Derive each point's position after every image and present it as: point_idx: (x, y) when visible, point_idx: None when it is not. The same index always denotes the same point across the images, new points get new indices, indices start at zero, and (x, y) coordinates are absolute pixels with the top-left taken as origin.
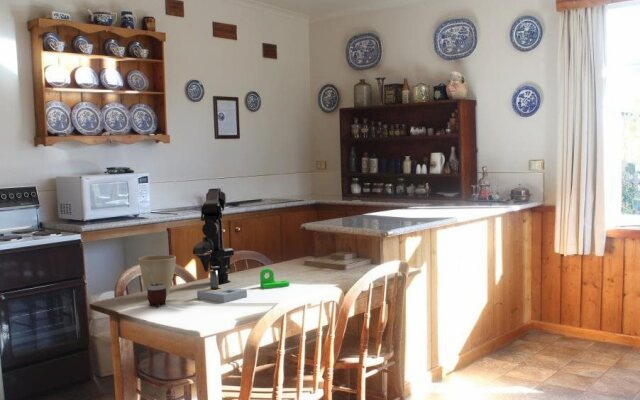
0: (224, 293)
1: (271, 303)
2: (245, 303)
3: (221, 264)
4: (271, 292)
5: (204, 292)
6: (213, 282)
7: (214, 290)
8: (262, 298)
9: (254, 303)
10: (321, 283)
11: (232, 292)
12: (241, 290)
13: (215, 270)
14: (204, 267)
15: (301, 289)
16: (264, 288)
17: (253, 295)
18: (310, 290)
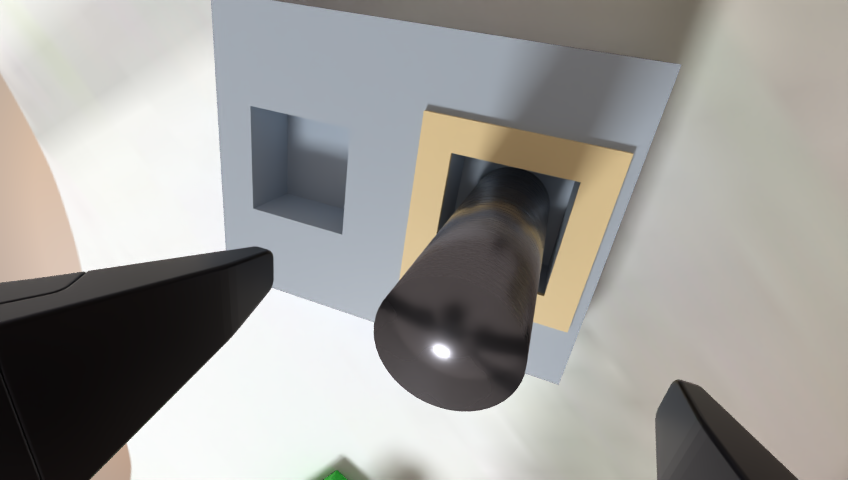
0: (263, 64)
1: (34, 127)
2: (134, 59)
3: (30, 281)
4: (242, 394)
5: (522, 40)
6: (462, 211)
7: (438, 140)
8: (167, 238)
9: (95, 86)
10: None
11: (237, 136)
12: (236, 235)
13: (434, 377)
14: (730, 445)
15: (179, 463)
16: (333, 474)
17: (269, 306)
18: (136, 445)
